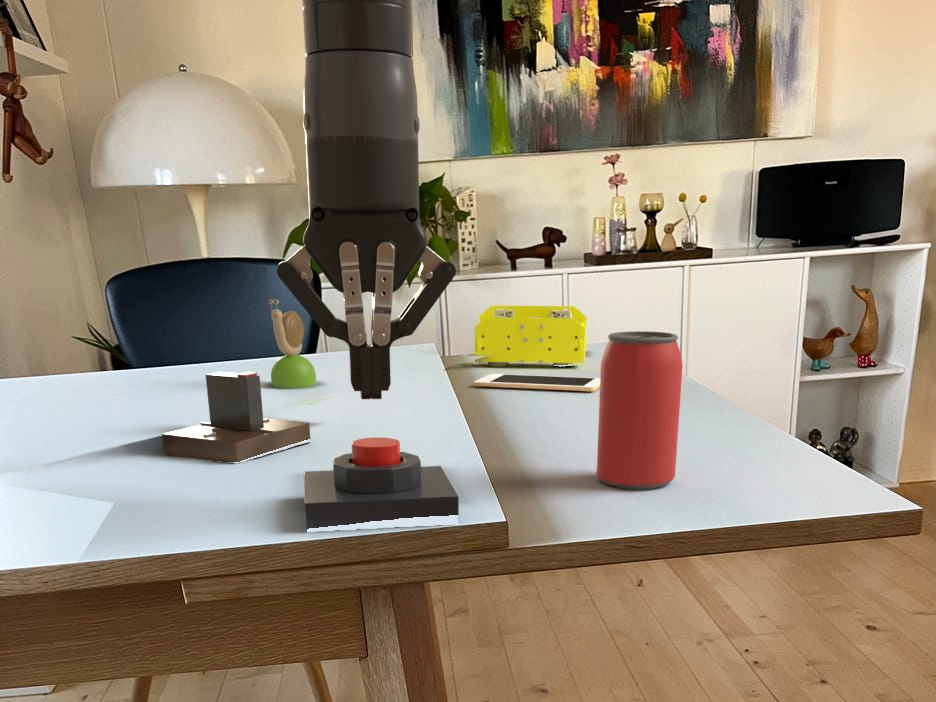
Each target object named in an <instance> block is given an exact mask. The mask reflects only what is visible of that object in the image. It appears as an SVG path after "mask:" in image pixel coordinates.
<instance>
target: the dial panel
mask: <svg viewBox="0 0 936 702" xmlns="http://www.w3.org/2000/svg"><path fill="white" fill-rule="evenodd" d="M263 422H264V428H262V429H258V430H254V431H243V430H234V429H225V428H216V427H211V423H210V421H209V422H206V421H205V422H204V421H201V422H199V423H200V424H197V425H193V426H189V427H185V428H181V429H177V430H176V429H175V430H172V431H168V432H164V433H161V437H162V438H161V439H162V446H163V454H164V455H165V456H170V457H171V456H172V457H179V458H187V459H194V460H200V461H201V460H203V461H208V460H211V461H210V462H216V461H222V462H221V463H225V462H240V461H242V460H245V459H248V458H251V457H254V456H257V455H260V454H263V453H266V452H269V451H273V450H276V449H279V448H282V447H285V446H288V445H291V444H295V443H298V442H301V441H304V440H308V439H310V440H311V429H310V428H311V427H310V422H308V421H297V420H288V419H278V418H270V417H269V418H267V417H263Z"/></svg>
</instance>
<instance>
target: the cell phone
mask: <svg viewBox="0 0 936 702" xmlns="http://www.w3.org/2000/svg"><path fill="white" fill-rule="evenodd" d="M473 386H474V387H487V388H488V387H489V388H510V389H511V388H512V389H531V390H532V389H533V390H555V391H575V392H577V391H578V392H595V391H596V390H598V389H600V377H585V376H584V377H583V376H582V377H581V376H558V375H537V374H536V375H535V374H534V375H531V374H511V373H510V374H508V373H489V374H488V375H485V376H483V377H481V378H478V379H477V380H474V381H473Z"/></svg>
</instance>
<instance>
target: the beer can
mask: <svg viewBox="0 0 936 702" xmlns="http://www.w3.org/2000/svg"><path fill="white" fill-rule="evenodd" d="M607 338H608V342H607V344H606V346H605V348H604V351H603V353H602V357H601V362H600V377H599V378H600V387H599V405H598V427H597V428H598V429H597V430H598V432H597V452H596V453H597V457H596V459H597V460H596V476H597V478H598V480H600V481H601V482H602V483H604V485H608V486H611V487H613V488H620V489H626V490H627V489H628V490H649V489H650V490H651V489H657V488H662V487H665V486H668V484H670V483H671V482H672V481H673V480H674V479H675V477H676V468H677V455H678V454H677V453H678V439H679V437H678V436H679V424H680V423H679V422H680V408H681V396H682V395H681V394H682V379H683V365H684V364H683V359H682V354H681V350H680V347H679V344H678V340H679V336H678V335H677V334H675V333H671V332H664V331H646V330H645V331H644V330H643V331H642V330H639V331H638V330H637V331H636V330H635V331H618V332H612V333H610V334H608V335H607Z"/></svg>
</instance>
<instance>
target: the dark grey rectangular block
mask: <svg viewBox="0 0 936 702" xmlns="http://www.w3.org/2000/svg"><path fill="white" fill-rule="evenodd" d="M205 383H206V384H205V385H206V393H207V394H206V395H207V402H208V412H209V422H210V423H211V427H216V428H225V429H234V430H243V431H254V430H258V429H262V428H264V422H263V418H264V413H263V411H264V410H263V399H262V388H261V387H262V386H261V375H259V374H258V372H255V371H253V372H252V371H247V372H246V371H245V372H241V373H239V372H237V373H236V372H224V371H217V372H213V373H212V372H211V373H206V374H205Z"/></svg>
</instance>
